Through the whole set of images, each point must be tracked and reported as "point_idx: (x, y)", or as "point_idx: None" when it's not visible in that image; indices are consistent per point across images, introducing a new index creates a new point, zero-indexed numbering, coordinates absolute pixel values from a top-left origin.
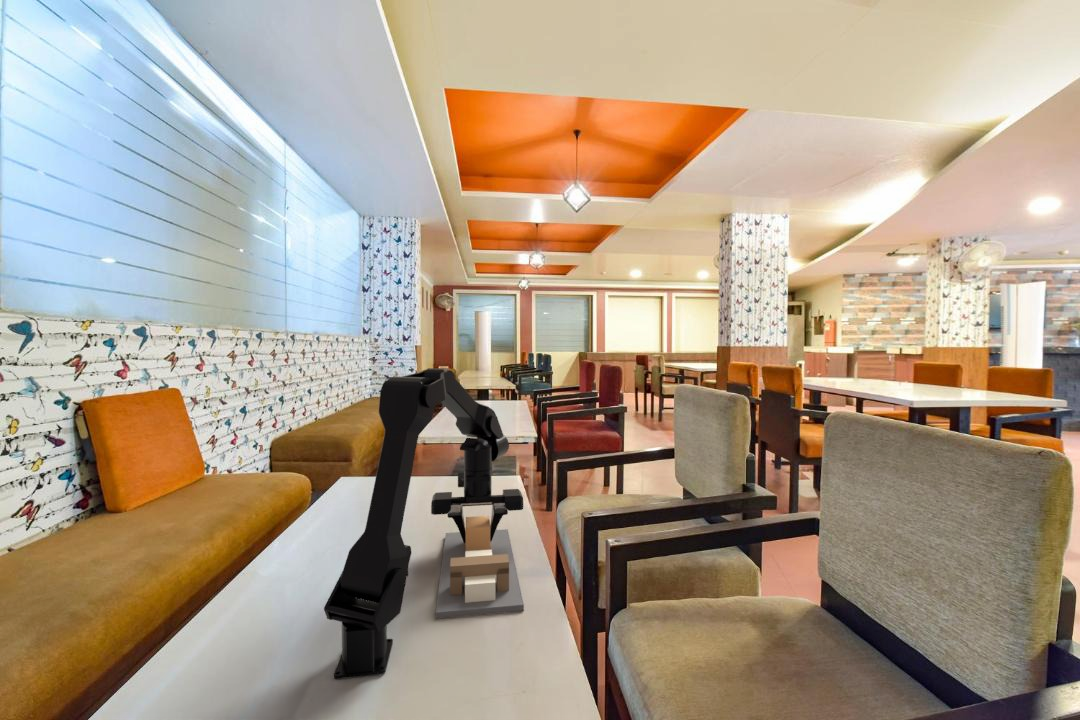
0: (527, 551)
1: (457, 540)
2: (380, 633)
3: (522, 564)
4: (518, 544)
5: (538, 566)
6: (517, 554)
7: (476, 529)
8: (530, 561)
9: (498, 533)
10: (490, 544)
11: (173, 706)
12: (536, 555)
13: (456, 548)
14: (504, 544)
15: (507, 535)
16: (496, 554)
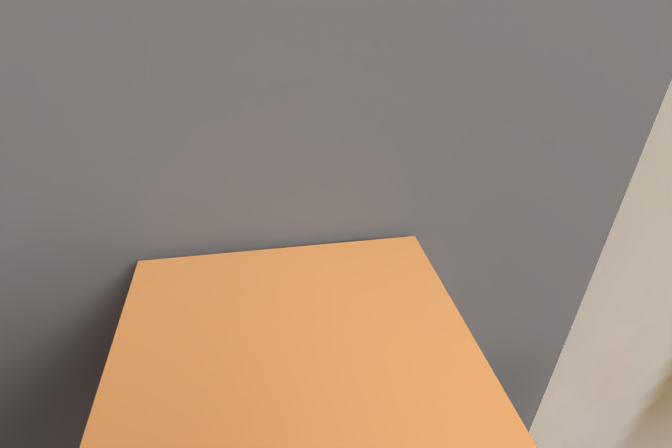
0: (638, 322)
1: (21, 244)
2: None
3: (539, 438)
4: (637, 226)
5: (603, 445)
6: (560, 355)
7: None
8: (592, 413)
9: (554, 86)
10: None
11: None
12: (658, 362)
13: (80, 394)
14: (523, 324)
15: (625, 157)
16: None
